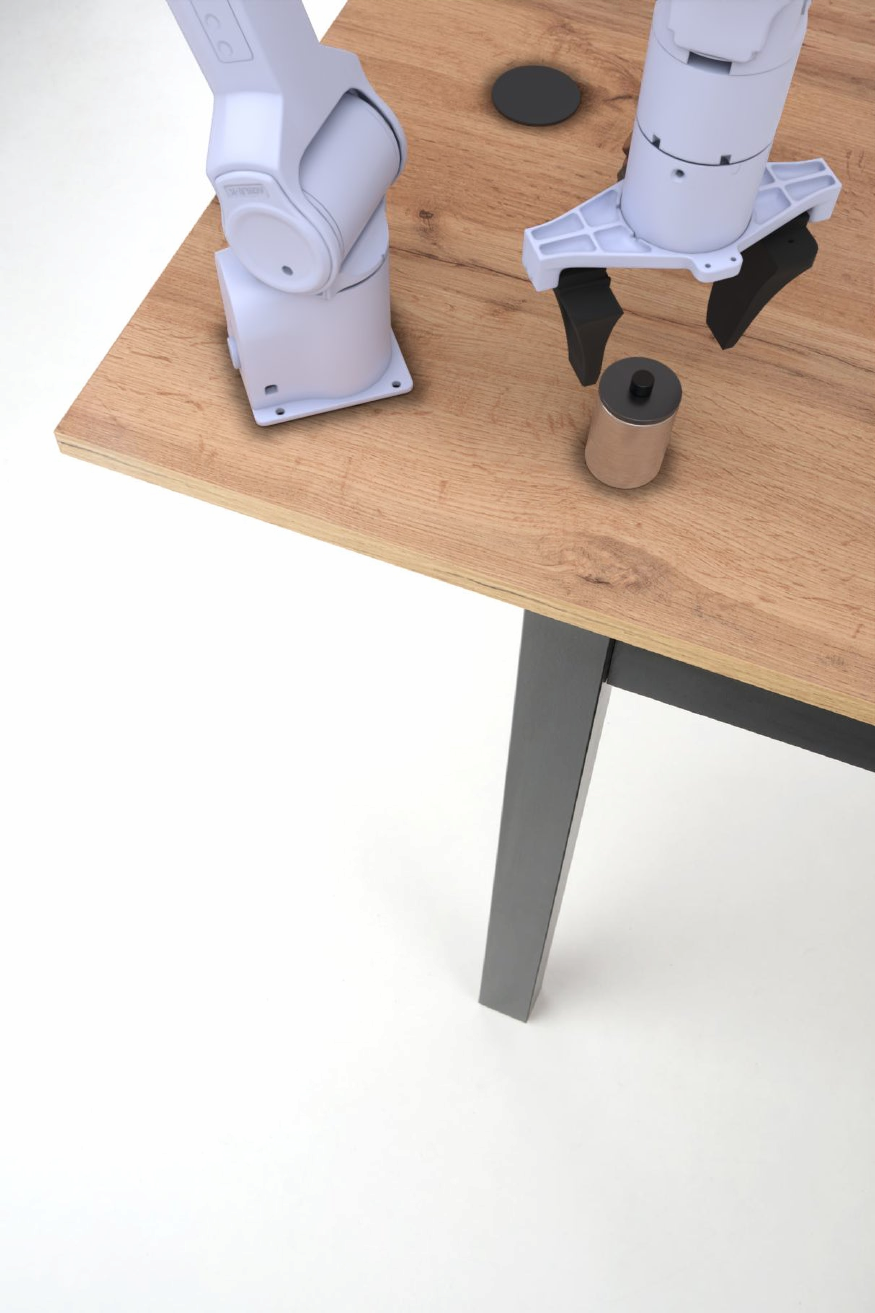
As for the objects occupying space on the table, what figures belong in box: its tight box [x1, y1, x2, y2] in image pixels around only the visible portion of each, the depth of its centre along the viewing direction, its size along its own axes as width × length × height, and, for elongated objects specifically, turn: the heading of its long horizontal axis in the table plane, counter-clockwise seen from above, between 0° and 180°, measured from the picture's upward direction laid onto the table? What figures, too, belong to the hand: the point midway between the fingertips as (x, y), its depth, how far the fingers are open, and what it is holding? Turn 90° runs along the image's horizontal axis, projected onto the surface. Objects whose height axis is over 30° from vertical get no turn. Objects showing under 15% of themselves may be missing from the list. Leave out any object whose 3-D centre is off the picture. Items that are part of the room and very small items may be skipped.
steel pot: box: [584, 356, 683, 490], centre depth 64 cm, size 4×4×7 cm
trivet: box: [491, 64, 581, 127], centre depth 82 cm, size 6×6×1 cm
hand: (651, 352), depth 60 cm, fingers open, 7 cm apart
